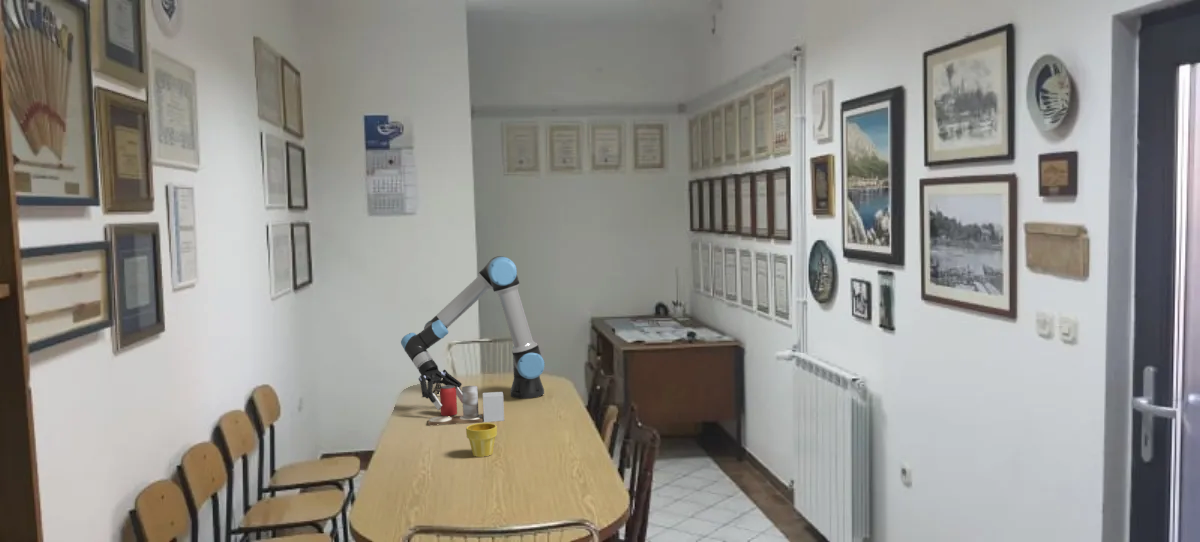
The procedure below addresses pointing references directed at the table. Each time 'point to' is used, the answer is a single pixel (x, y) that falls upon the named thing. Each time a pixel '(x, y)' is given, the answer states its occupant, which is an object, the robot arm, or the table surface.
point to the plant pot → (482, 438)
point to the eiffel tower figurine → (437, 388)
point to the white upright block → (493, 406)
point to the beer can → (448, 400)
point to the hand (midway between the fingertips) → (452, 404)
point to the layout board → (468, 409)
